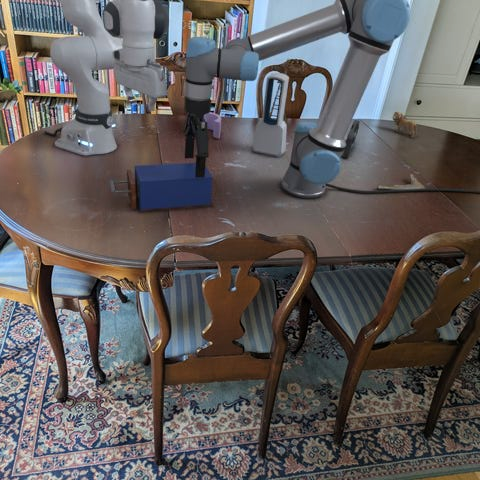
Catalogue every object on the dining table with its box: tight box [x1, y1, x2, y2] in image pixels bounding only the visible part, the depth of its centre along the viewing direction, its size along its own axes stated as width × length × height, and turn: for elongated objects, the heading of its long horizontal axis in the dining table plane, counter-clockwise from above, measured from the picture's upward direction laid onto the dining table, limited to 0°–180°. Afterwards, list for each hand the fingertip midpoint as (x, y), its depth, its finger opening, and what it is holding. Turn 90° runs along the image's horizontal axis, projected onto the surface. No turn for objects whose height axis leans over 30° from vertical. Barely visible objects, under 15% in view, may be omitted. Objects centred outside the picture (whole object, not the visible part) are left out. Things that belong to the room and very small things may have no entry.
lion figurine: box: [392, 111, 420, 138], centre depth 220 cm, size 15×5×9 cm, turn 50°
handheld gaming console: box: [342, 119, 361, 159], centre depth 194 cm, size 23×3×10 cm, turn 161°
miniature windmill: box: [269, 58, 290, 124], centre depth 205 cm, size 9×8×30 cm
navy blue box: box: [134, 162, 213, 213], centre depth 143 cm, size 22×11×10 cm, turn 109°
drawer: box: [108, 169, 140, 210], centre depth 141 cm, size 26×10×8 cm, turn 109°
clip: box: [204, 111, 222, 140], centre depth 199 cm, size 20×12×7 cm, turn 23°
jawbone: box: [376, 173, 426, 190], centre depth 169 cm, size 9×20×2 cm, turn 126°
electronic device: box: [251, 72, 290, 158], centre depth 178 cm, size 12×8×30 cm, turn 71°
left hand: (140, 106), depth 137 cm, fingers open, 8 cm apart
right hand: (194, 167), depth 142 cm, fingers open, 13 cm apart
